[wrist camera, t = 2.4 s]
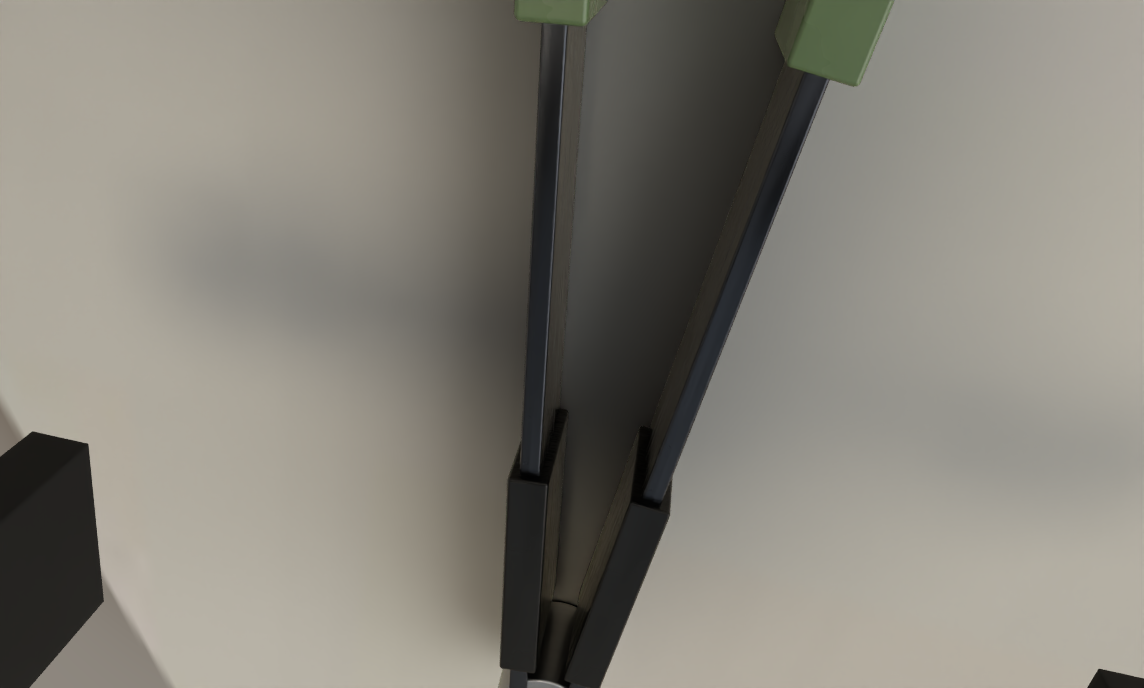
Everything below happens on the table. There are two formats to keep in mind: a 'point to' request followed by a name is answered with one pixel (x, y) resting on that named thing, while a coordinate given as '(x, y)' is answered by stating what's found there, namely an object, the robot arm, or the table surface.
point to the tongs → (643, 498)
